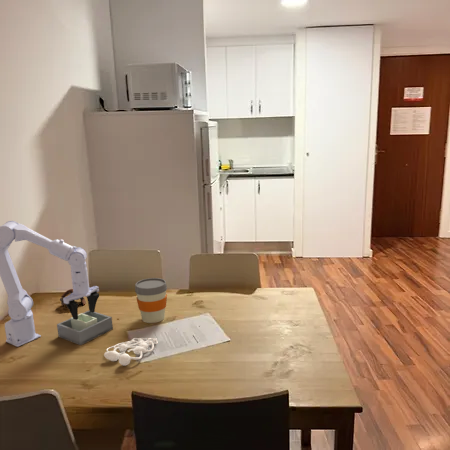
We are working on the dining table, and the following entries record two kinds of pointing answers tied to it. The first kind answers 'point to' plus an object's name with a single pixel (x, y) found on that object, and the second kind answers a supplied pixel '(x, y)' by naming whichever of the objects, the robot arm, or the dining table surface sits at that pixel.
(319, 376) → the dining table surface
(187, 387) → the dining table surface
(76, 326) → the sage crate
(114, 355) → the white tangled earphones
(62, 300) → the pottery mug
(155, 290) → the reusable coffee cup
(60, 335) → the charcoal crate
